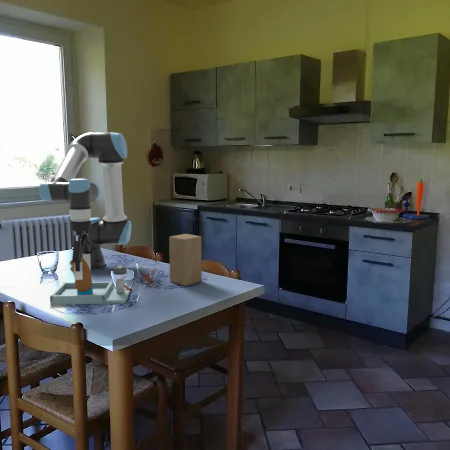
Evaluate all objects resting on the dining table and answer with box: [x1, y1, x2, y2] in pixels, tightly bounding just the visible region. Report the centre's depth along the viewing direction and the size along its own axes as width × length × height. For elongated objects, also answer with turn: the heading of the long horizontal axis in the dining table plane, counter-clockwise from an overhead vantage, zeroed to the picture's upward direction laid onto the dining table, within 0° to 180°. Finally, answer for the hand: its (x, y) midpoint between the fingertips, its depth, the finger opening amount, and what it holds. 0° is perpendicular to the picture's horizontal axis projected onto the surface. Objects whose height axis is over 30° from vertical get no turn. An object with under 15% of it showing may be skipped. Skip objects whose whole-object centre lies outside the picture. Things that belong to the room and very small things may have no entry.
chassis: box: [49, 277, 131, 306], centre depth 175 cm, size 18×27×7 cm, turn 94°
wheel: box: [112, 265, 127, 276], centre depth 175 cm, size 5×5×2 cm
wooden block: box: [168, 233, 203, 286], centre depth 195 cm, size 10×10×20 cm
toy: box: [69, 258, 93, 295], centre depth 174 cm, size 12×7×15 cm, turn 169°
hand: (83, 274), depth 174 cm, fingers open, 13 cm apart
